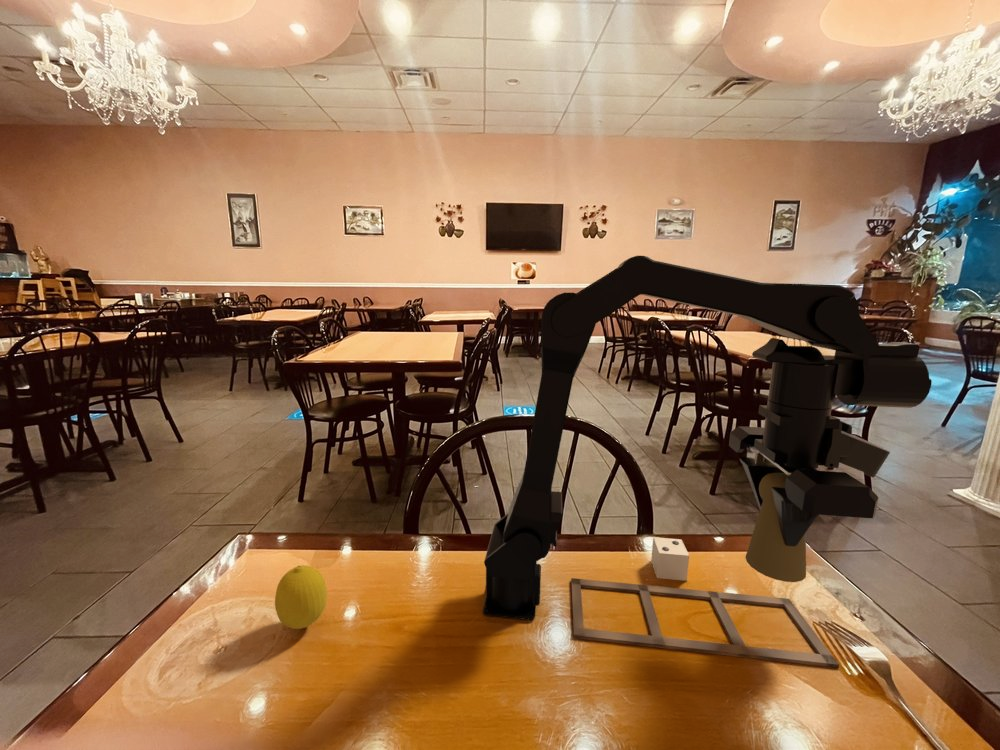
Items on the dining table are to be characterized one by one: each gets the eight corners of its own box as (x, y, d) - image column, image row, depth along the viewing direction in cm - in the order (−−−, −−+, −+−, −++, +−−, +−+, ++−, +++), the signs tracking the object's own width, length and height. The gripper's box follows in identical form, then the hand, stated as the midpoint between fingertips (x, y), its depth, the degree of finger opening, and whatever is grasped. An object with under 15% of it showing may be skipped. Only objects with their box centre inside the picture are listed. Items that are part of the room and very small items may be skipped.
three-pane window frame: (573, 638, 50) (574, 634, 50) (571, 580, 60) (571, 578, 59) (838, 667, 46) (839, 664, 46) (788, 601, 56) (789, 598, 56)
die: (657, 578, 60) (659, 552, 60) (651, 561, 64) (653, 536, 63) (686, 581, 60) (689, 555, 59) (679, 563, 64) (681, 539, 63)
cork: (817, 585, 47) (833, 492, 44) (756, 578, 48) (769, 486, 46) (791, 553, 52) (804, 469, 50) (738, 547, 54) (748, 464, 51)
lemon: (337, 626, 51) (333, 566, 49) (289, 653, 47) (283, 589, 46) (316, 603, 55) (312, 546, 53) (270, 627, 51) (264, 567, 49)
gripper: (961, 434, 36) (924, 596, 39) (826, 387, 54) (808, 500, 57) (819, 427, 38) (794, 584, 41) (734, 384, 56) (721, 494, 59)
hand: (779, 533), depth 49 cm, fingers closed on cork, 4 cm apart
